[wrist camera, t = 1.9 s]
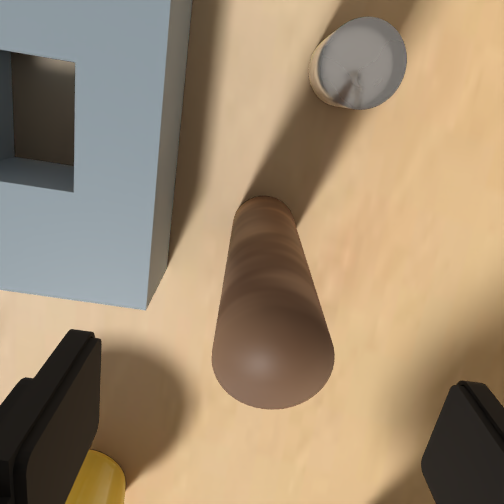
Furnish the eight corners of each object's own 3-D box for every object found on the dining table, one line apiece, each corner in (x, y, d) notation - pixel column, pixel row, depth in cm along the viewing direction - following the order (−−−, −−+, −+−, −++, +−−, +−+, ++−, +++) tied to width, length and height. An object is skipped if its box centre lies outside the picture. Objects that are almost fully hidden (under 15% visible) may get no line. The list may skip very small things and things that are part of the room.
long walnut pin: (299, 201, 27) (347, 314, 13) (287, 258, 29) (320, 416, 15) (237, 191, 27) (220, 296, 13) (229, 249, 29) (204, 401, 14)
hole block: (195, -39, 23) (177, -82, 17) (167, 268, 29) (145, 310, 23) (-72, -88, 22) (-184, -150, 16) (-44, 237, 28) (-117, 273, 23)
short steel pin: (385, 38, 24) (417, 24, 19) (367, 111, 25) (393, 115, 21) (316, 26, 24) (331, 9, 19) (302, 100, 25) (313, 102, 21)
